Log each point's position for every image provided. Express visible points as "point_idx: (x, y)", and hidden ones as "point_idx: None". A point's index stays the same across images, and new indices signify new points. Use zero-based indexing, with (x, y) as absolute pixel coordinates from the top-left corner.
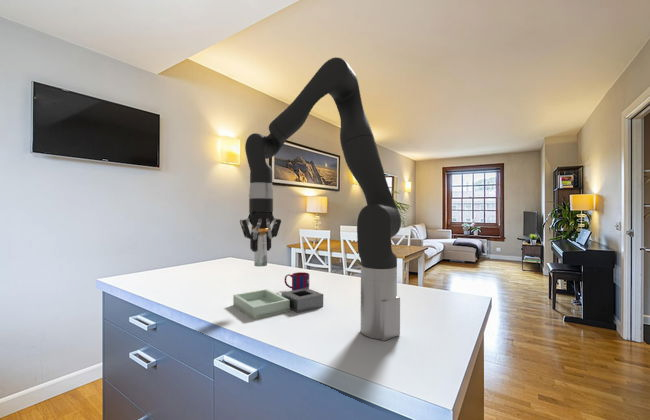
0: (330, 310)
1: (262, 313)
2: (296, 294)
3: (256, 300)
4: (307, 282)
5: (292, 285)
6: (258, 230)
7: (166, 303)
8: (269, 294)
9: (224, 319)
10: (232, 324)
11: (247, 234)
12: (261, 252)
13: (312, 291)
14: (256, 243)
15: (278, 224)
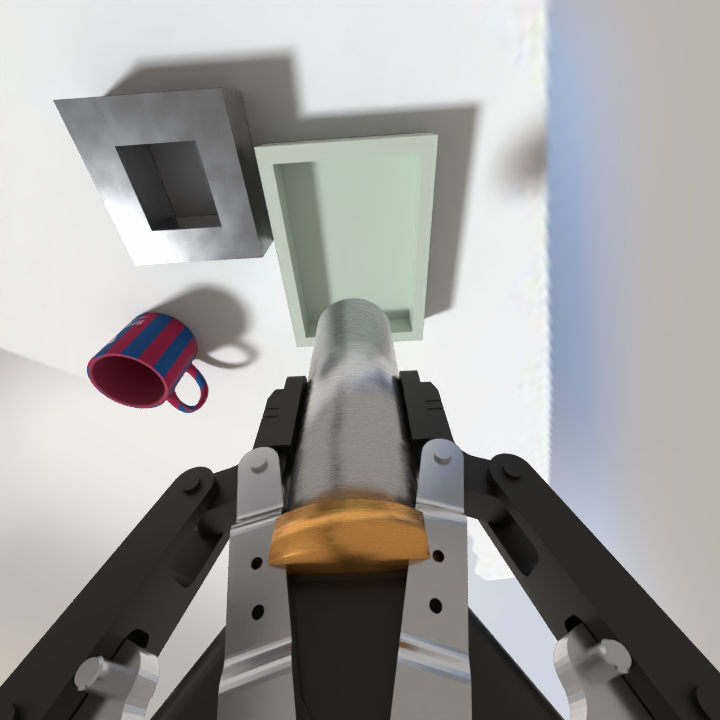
0: (64, 10)
1: (391, 135)
2: (199, 225)
3: None
4: (117, 336)
5: (186, 358)
6: (421, 529)
7: (542, 414)
8: (300, 302)
9: (505, 201)
10: (514, 125)
11: (540, 490)
12: (366, 350)
13: (112, 191)
14: (410, 414)
15: (70, 641)
